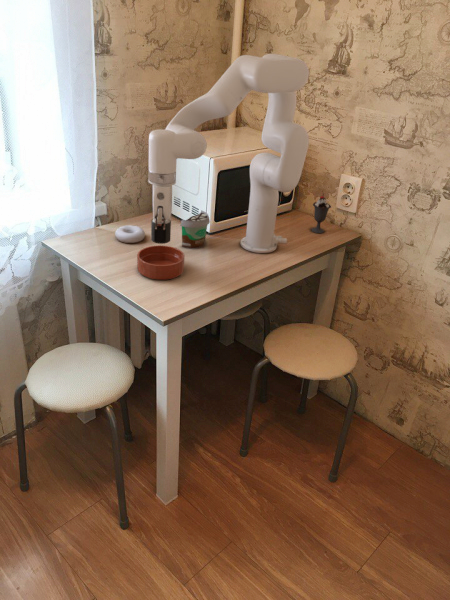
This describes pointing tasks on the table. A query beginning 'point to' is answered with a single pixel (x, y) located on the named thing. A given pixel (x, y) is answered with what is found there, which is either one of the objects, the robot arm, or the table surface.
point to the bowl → (160, 262)
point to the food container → (194, 230)
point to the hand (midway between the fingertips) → (160, 236)
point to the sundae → (320, 213)
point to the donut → (130, 234)
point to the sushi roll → (167, 227)
